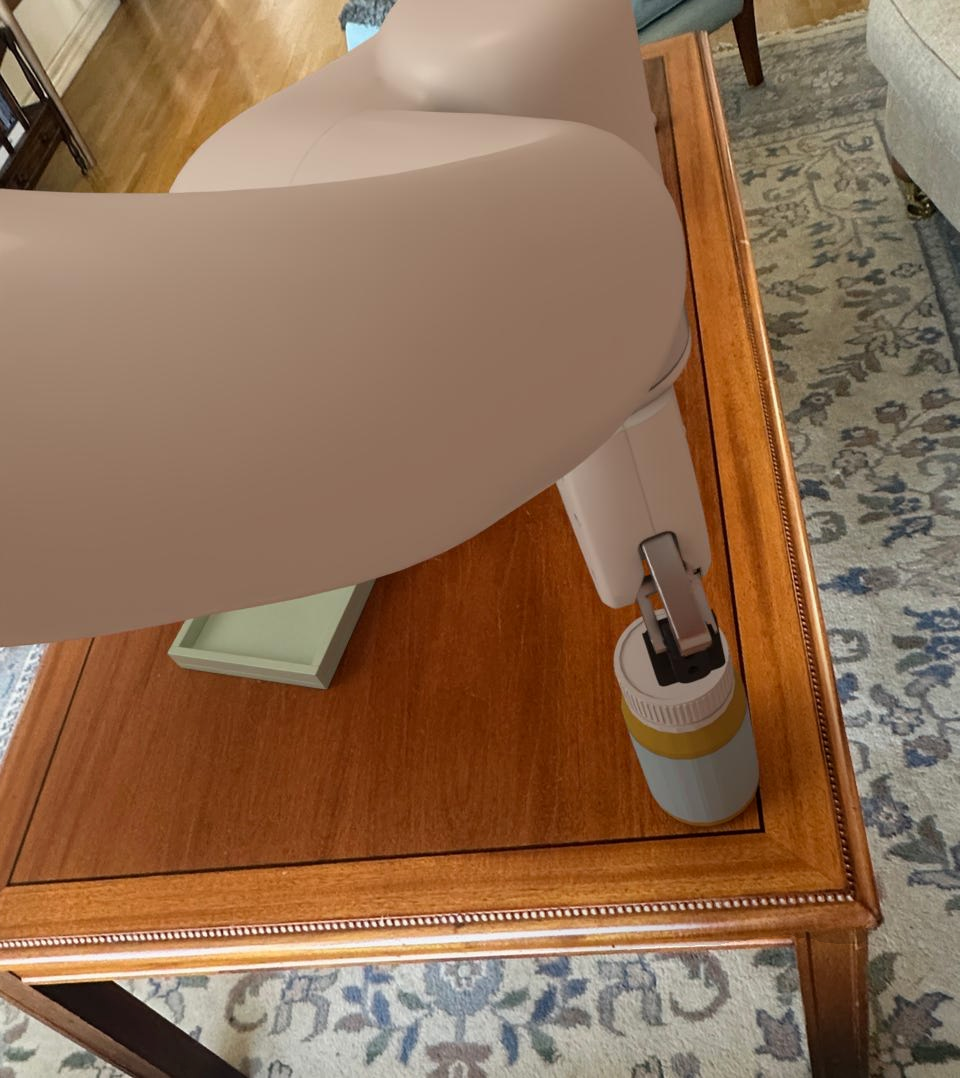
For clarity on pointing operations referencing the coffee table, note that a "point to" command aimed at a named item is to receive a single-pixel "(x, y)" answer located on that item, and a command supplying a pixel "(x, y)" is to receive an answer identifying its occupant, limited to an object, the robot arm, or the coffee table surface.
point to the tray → (275, 638)
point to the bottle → (688, 734)
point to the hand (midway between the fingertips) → (657, 592)
